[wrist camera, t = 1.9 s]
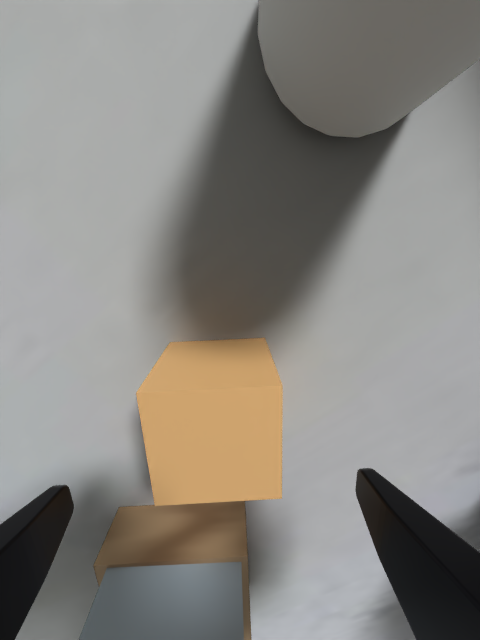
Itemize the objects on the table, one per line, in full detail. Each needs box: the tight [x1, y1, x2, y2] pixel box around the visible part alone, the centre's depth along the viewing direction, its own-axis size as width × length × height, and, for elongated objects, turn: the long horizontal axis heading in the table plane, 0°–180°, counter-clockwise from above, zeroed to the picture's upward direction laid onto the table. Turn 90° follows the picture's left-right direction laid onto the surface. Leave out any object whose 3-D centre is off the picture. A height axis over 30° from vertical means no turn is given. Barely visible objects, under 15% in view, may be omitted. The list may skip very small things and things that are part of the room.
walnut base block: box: [93, 501, 251, 640], centre depth 16 cm, size 8×8×4 cm
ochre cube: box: [136, 338, 282, 506], centre depth 12 cm, size 5×5×5 cm
